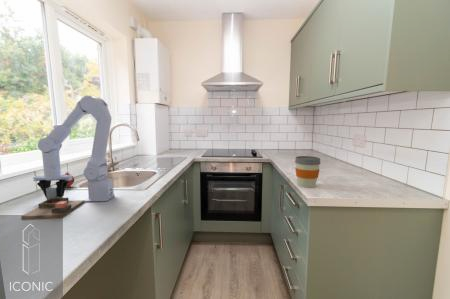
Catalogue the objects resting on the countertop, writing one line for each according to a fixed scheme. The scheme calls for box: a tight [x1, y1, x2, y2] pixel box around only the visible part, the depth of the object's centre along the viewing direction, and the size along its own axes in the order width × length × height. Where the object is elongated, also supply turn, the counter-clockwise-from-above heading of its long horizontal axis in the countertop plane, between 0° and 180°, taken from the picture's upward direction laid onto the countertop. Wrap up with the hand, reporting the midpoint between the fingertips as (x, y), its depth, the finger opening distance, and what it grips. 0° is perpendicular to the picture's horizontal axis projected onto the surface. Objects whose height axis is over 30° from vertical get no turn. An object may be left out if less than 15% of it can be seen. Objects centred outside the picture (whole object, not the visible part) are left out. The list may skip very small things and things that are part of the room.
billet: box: [46, 184, 64, 200], centre depth 98 cm, size 4×4×6 cm
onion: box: [63, 171, 75, 188], centre depth 117 cm, size 6×6×8 cm
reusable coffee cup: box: [294, 155, 321, 189], centre depth 120 cm, size 13×12×15 cm
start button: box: [55, 201, 67, 208], centre depth 84 cm, size 3×3×2 cm
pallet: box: [20, 197, 86, 220], centre depth 87 cm, size 14×15×3 cm
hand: (54, 196), depth 98 cm, fingers open, 5 cm apart
